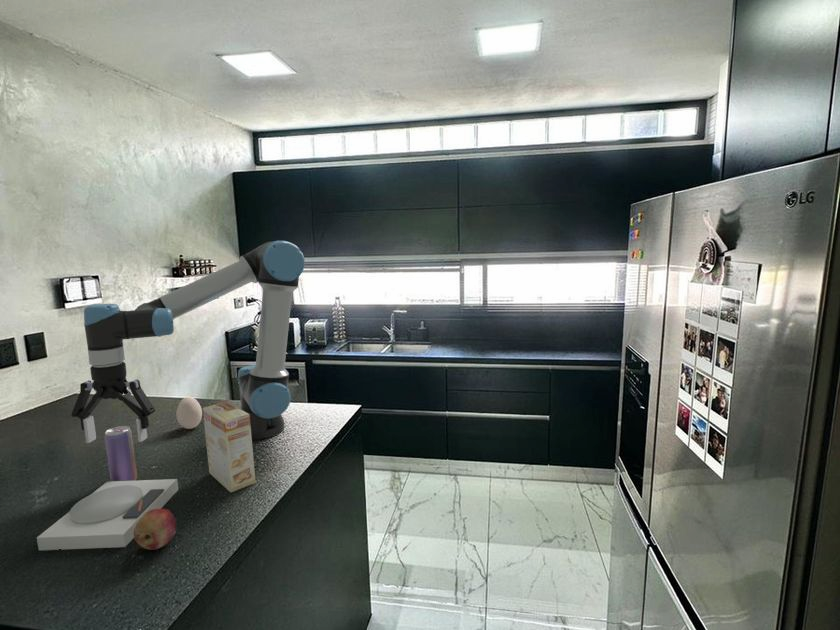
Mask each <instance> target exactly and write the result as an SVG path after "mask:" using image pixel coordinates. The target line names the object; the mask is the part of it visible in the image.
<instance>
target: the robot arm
mask: <svg viewBox="0 0 840 630" xmlns="http://www.w3.org/2000/svg"><path fill="white" fill-rule="evenodd" d="M305 265H306V262H305V256H304V254H303V252H302V251H301V249H300V247H298V246H297V245H296V244H294V243H292V242H289V241H286V240H273V241H267V242H265V243H263V244H261V245H259V246H257V247H256V248H254V249H252V250H251V251H250V252H246V253H245V254H243V255H241V256H239V259H238V261H236V262H233V263H231V264H228V265H227V266H225V267H222V268H220V269H218V270H216V271H214V272H212V273H210V274H207V275H205V276H203V277H201V278H198V279H196V280H195V281H193V282H190V283H188V284H186V285H184V286H181V287H178V288H177V289H175V290H172V291H170V292H168V293H166V294H164V295H162V296H159V297H158V298H155V299H154V300H151V301H149V302H144V303H141V304H140V305H138V306H137V307H136V308H135V309H134V310H121V309H120V307H119V306H120V305H118V304H116V303H100V304H91V305H87V306H86V307H85V308H84V309H83V318H84V319H83V320H84V324H83V326H84V331H85V337H86V344H87V354H88V362H89V363H88V364H89V365H90V368H89V370H90V376H91V377H90V378H91V380H92V381H91V380H89V379H88V380H86V381H84V382H82V383H80V385H79V386H80V387H79V389H80V392H79V394H78V396H77V399H76V402H75V404H74V407H73V409H72V412H71V414H70V415H71V417H72V418H78V419H79V420H80V424H81V429H82V431H84V436H85V443H86V444H90V443H91V442H93V441H95V440H96V439H97V434H96V433H97V432H96V426H95V419H94V415H92V413H93V411H94V410H95V409H96V407H97V406H98V405H99V404H100V402H101V401H102V399H103V400H108V399H111V400H116V399H118V400H119V401H122V402H123V403H124V404H125V405H126V406H127V407H128V408H129V409H130V410H131V412H133V414H135V415H136V416H138V417H137V418H135V422H136V432H137V440H138V443H142V442H144V441H145V440H146V439H148V432H147V431H148V430H147V429H148V428H149V426H150V423H149V416H150V415H152V414H153V413H155V412H156V408H155V407H154V405H153V403H152V402H151V401H150V399H149V398H148V396H147V395H146V393H145V391H144V390H143V389H142V387H141V383H140V380H139V379H134V380H132V381H128V380H127V366H126V362H124V361H125V360H126V359H125V349H124V340H130V339H131V340H132V339H144V338H152V337H153V338H154V337H159V338H160V337H164V336H170V335H172V334H173V333H174V331H175V329H174V328H175V327H174V320H175V319H178V318H180V317H182V316H183V315H185V314H187V313H190V312H192V311H194V310H195V309H198V308H200V307H202V306H204V305H206V304H209V303H210V302H212V301H214V300H217V299H219V298H221V297H223V296H225V295H227V294H229V293H232V292H233V291H235V290H237V289H240V288H242V287H244V286H245V285H247V284H249V283H253V284H257V283H258V284H259V286H260V287H261V288H262V298H261V308H260V316H259V319H260V320H259V327H258V336H257V337H258V338H257V339H258V340H257V349H256V358H255V364H253V365H252V364H251V365H247V366H243V367H241V368H239V369H238V372H237V373H238V374H237V379H238V388H239V397H240V398H239V399H240V409H241V410H243V411H245V412H246V413H248V414H250V426H251V437H252V441H253V440H263V439H268V438H271V437H274V436H277V435H279V434H280V433H282V432H283V431H284V430H285V420H284V417H283V415H282V414H283V413H284V412H286V411H287V409H288V408H289V406H290V404H291V398H292V397H291V392H290V389H289V387H288V386H289V377H290V373H289V371H288V370H287V369H286V367H285V365H286V357H287V346H288V336H289V326H290V317H291V308H292V299H293V293H294V291H296V290H297V289H298V287H299V280H300V276H301V275H302V273H303V271H304V268H305ZM92 390H94V391H95V392H94V395H93V396H92V397H91V399H90V401H89V402H88V400H89V398H90V395H91V393H92Z"/></svg>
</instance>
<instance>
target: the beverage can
mask: <svg viewBox="0 0 840 630" xmlns="http://www.w3.org/2000/svg"><path fill="white" fill-rule="evenodd" d="M132 434H133V433H132V430H131V428H130V426H129V425H118V426H115V427H112V428H109V429H107V430H105V432H104V443H105V444H104V445H105V450H106V458H107V464H108V471H109V477H110V481H137V479H138V472H137V471H138V469H137V462H136V456H135V448H134V441H133V435H132Z"/></svg>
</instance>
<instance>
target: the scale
mask: <svg viewBox="0 0 840 630" xmlns="http://www.w3.org/2000/svg"><path fill="white" fill-rule="evenodd" d="M178 483H179V482H178V479H177V478H169V479H167V478H166V479H146V480H145V479H143V480H141V479H140V480H137V479H136V480H135V481H111V480H109V481H106V482H104V484H102V485H100V487H98V488H97V489H95V491H94V492H92V493H91V494H89V495H87V496H85V497H84V498H82V499H80V500H79V501H76V503H75V504H74V505H73V506H71V508H70V510H69V511H68V512H67V513H66V514H64V515H63V516H62V517H61V518H59V519H58V520H57V521H56V522H55V523H53V524H52V525H50V526H49V527H48V528H47V529H45V530H44V531H42V533H40V535H38V536H37V537H36V541H37V546H38V547H37V548H38V551H55V550H56V551H57V550H58V551H60V550H59V549H61V551H62V550H85V549H86V550H87V549H105V548H106V549H107V548H108V549H109V548H110V549H112V548H126V547H127V546H128V544H129V543H131V541H132V540H134V539H135V538H134V529H135V526H136V524H137V522H138V521H139V520H140V519H141V518H142V516H143V515H144V514H145V513H147V512H148V511H150V510H153V509H163V507H164V506H165V505H166V503H168V501H170V500H171V498H172V497H173V496H174V495H175V494H176V493H177V492H178V490H179V484H178Z"/></svg>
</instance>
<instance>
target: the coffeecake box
mask: <svg viewBox="0 0 840 630" xmlns="http://www.w3.org/2000/svg"><path fill="white" fill-rule="evenodd" d="M202 417H203V423H204V435H205V444H206V451H207V462H208V472H209V474H210V475H211V476H212V477H213V478H214V479H215V481H217V482H218V483H220V484H221V485H222V486H223V488H225V489H226V490H227V491H228V492H229V493H231V494H232V493H233V492H237V491H239V490H241V489H243V488H246V487H248V486H252V485H253V484H256V483H257V482H256V472H255V462H254V461H255V460H254V450H253V440H252V437H251V426H250V414H248V413H246V412H245V411H243V410H241V408H239V407H238V406H235V405H234V404H232V403H230V402H229V401H223V402H218V403H216V404H213V405H209V406H205V407H202Z"/></svg>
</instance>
